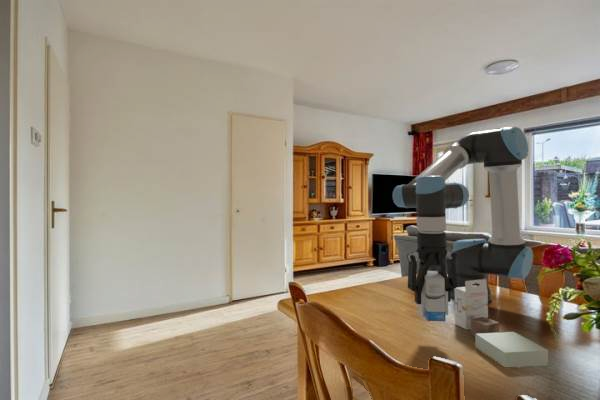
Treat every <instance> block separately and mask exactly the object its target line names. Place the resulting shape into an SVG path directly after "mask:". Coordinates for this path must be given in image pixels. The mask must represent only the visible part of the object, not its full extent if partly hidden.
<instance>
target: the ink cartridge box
mask: <svg viewBox="0 0 600 400" xmlns="http://www.w3.org/2000/svg"><path fill="white" fill-rule="evenodd" d="M486 281H487V278H486V279H483V280H472V281H465V287H457V288H454V292H455V299H454V322H455V323H454V324H455V325H456V326H458V327H461V329H464V330H471V319H474V318H479V317H485V318H488V319H489V302H488V290H487V284H488V281H487V282H486ZM475 283H477V284H480V285H479V286H476V285H475V286H472V285H473V284H475Z"/></svg>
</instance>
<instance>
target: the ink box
mask: <svg viewBox="0 0 600 400" xmlns="http://www.w3.org/2000/svg"><path fill="white" fill-rule="evenodd" d="M422 292H423V293H425V317H424V318H425V319H426V321H427V322H446V315H445V279H444V278H443V277H442V275H441V274H439V273H438V271H430V270H428V271H427V275H426V276H425V282H424V286H423V289H422Z"/></svg>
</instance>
